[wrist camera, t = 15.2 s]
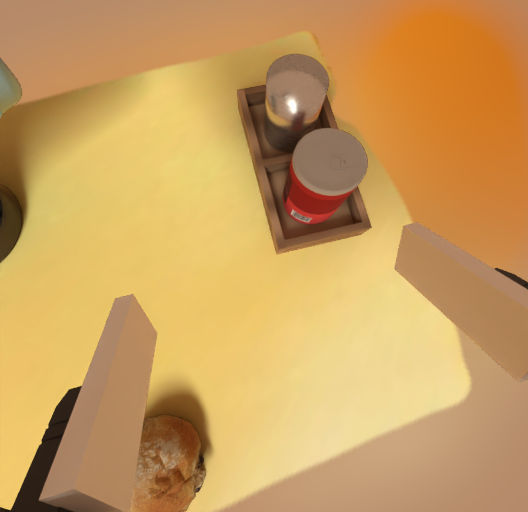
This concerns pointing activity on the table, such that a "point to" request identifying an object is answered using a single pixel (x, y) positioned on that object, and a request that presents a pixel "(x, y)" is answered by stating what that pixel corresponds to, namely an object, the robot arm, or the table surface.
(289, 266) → the table surface
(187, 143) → the table surface
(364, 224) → the walnut crate
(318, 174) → the canned food
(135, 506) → the bread roll
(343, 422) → the table surface
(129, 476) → the robot arm
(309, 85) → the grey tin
